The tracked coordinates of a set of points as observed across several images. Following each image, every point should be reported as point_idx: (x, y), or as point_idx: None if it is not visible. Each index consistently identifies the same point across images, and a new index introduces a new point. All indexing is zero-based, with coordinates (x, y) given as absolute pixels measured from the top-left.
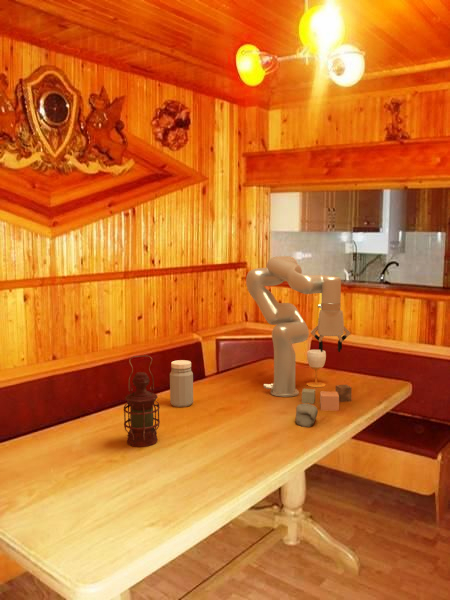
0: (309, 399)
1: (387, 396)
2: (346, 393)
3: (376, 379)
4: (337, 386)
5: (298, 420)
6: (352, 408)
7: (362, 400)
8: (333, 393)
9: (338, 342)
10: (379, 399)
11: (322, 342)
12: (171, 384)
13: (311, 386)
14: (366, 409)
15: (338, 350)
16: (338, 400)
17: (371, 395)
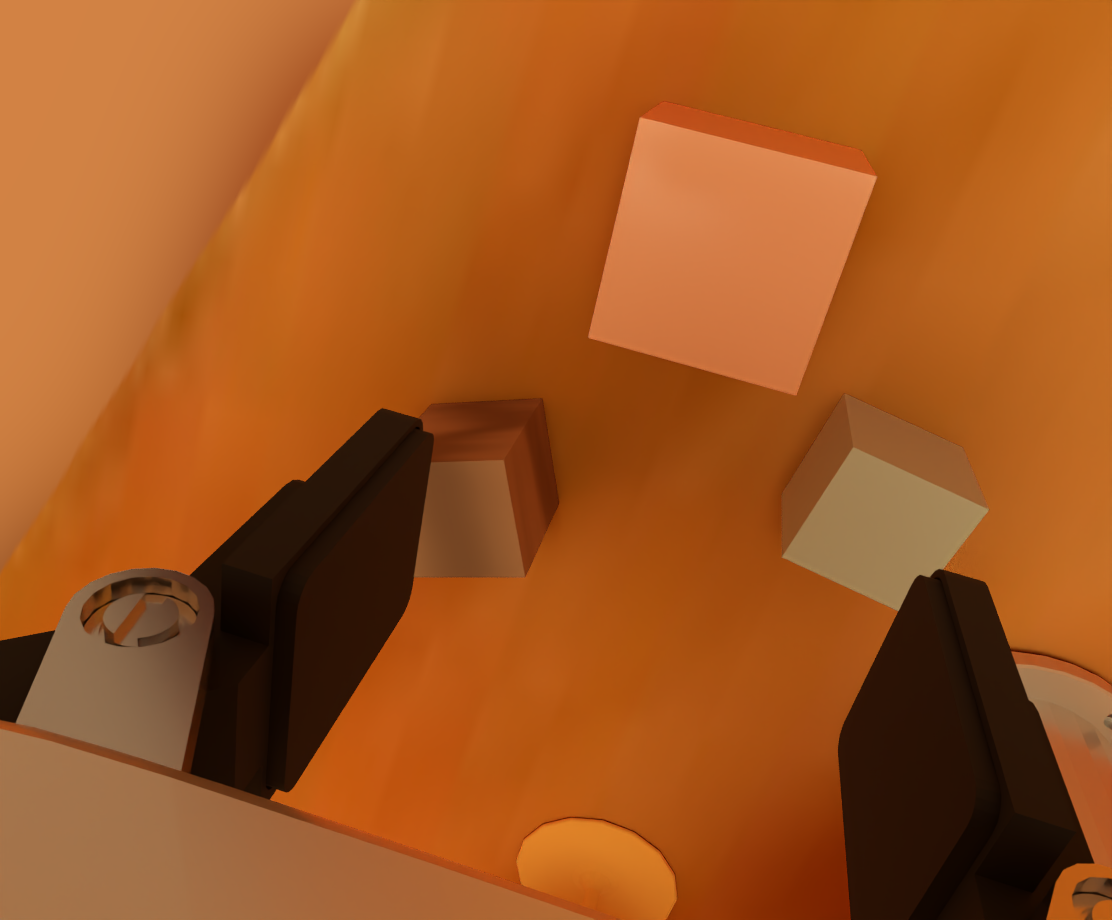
0: (890, 431)
1: (96, 463)
2: (456, 434)
3: None
4: (518, 534)
5: None
6: (488, 162)
7: (325, 400)
8: (662, 272)
9: (296, 622)
10: (173, 397)
11: (982, 817)
12: None
13: (654, 848)
14: (355, 103)
15: (419, 446)
16: (653, 113)
17: (219, 518)
